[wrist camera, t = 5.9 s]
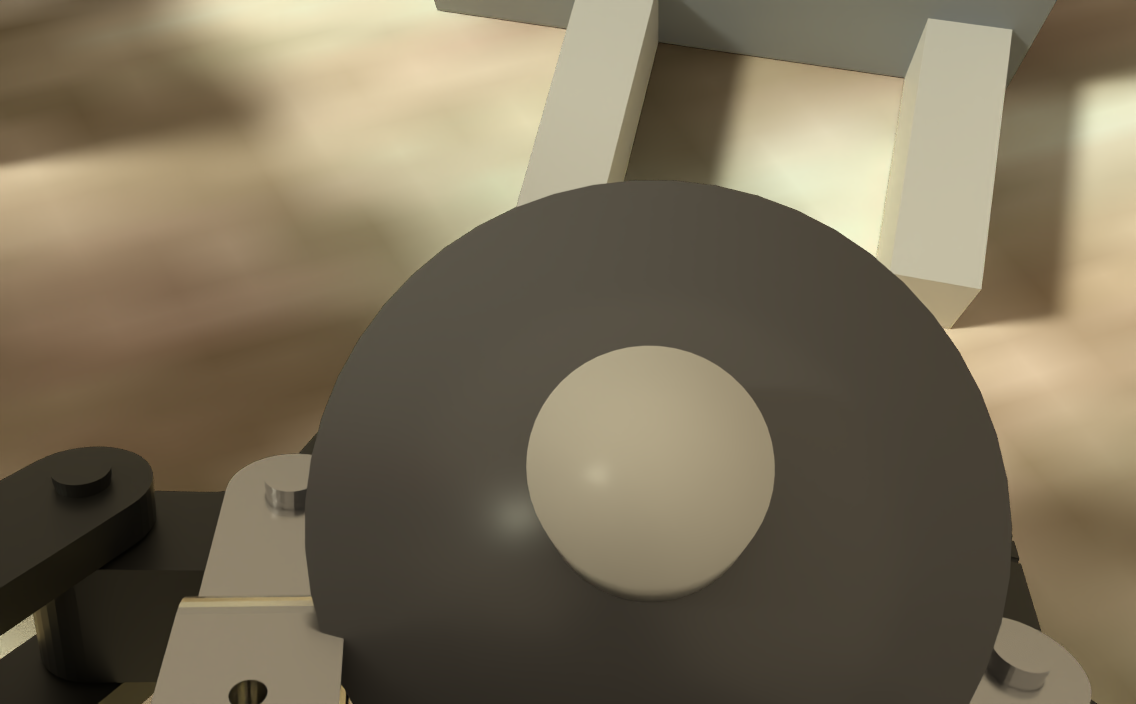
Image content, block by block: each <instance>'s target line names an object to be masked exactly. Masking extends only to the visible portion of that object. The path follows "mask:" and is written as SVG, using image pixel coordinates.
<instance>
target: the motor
mask: <svg viewBox="0 0 1136 704" xmlns="http://www.w3.org/2000/svg"><path fill="white" fill-rule="evenodd" d="M434 1H435V4H436V7H437V10H441V11H448V12H455V13H462V14H469V15H476V16H482V17H489V18H496V19H503V20H510V21H517V22H524V23H531V24H537V25H544V26H551V27H558V28H565V29H567V30H566V34H565V37H564V41H563V44H562V48H561V51H560V55H559V58H558V62H557V65H556V69H555V72H554V76H553V79H552V83H551V86H550V90H549V93H548V97H547V100H546V104H545V107H544V111H543V115H542V118H541V122H540V125H539V129H538V132H537V136H536V139H535V143H534V146H533V150H532V153H531V157H530V160H529V164H528V167H527V171H526V174H525V178H524V181H523V185H522V188H521V192H520V195H519V199H518V203H517V206H516V207H518V206H521V205H524V204H527V203H530V202H532V201H535V200H538V199H541V198H544V197H546V196H549V195H552V194H556V193H560V192H564V191H569V190H573V189H577V188H582V187H586V186H590V185H596V184H605V183H614V182H623V181H624V179H625V175H626V171H627V167H628V163H629V159H630V155H631V151H632V147H633V143H634V138H635V134H636V130H637V126H638V122H639V118H640V114H641V110H642V106H643V102H644V98H645V94H646V90H647V86H648V82H649V78H650V74H651V70H652V66H653V62H654V58H655V54H656V50H657V46H658V42H661V43H668V44H675V45H682V46H689V47H696V48H702V49H709V50H716V51H723V52H730V53H737V54H744V55H751V56H757V57H764V58H771V59H778V60H785V61H792V62H799V63H806V64H813V65H819V66H826V67H833V68H840V69H847V70H854V71H861V72H868V73H874V74H881V75H888V76H895V77H902V78H905V79H904V85H903V92H902V98H901V105H900V111H899V117H898V124H897V130H896V137H895V143H894V149H893V156H892V162H891V169H890V175H889V181H888V188H887V194H886V201H885V207H884V213H883V220H882V226H881V233H880V239H879V245H878V252H877V258H876V259H877V260H878V261H880V262H881V263H882V264H883V265H884V266H885V267H887V268H888V269H889V270H890V271H891V272H892V273H893V274H895V275H896V276H897V277H898V278H899V279H900V280H902V281H903V282H904V283H905V284H906V285H907V286H908V288H909V289H910V290H911V291H912V292H913V293H914V294H915V295H916V296H917V298H918V299H919V300H920V301H921V302H922V303H923V304H924V305H925V306H926V307H927V309H928V310H929V311H930V312H931V313H932V314H933V315H934V317H935V318H936V319H937V321H938V322H939V324H940V325H941V327H945V328H951V327H952V326H953V325H954V323H955V322H956V321H957V319H958V318H959V317H960V316H961V314H962V313H963V312H964V311H965V309H966V308H967V307H968V306H969V304H970V303H971V302H972V301H973V299H974V298H975V297H976V296H977V294H978V293H979V292H980V290H981V289H982V280H983V272H984V263H985V255H986V247H987V238H988V230H989V221H990V213H991V205H992V196H993V188H994V180H995V171H996V163H997V154H998V146H999V138H1000V129H1001V121H1002V112H1003V104H1004V96H1005V90H1006V88H1007V87H1008V85H1009V83H1010V81H1011V80H1012V78H1013V76H1014V74H1015V73H1016V71H1017V69H1018V67H1019V66H1020V64H1021V62H1022V60H1023V59H1024V57H1025V55H1026V53H1027V52H1028V50H1029V48H1030V46H1031V45H1032V43H1033V41H1034V39H1035V38H1036V36H1037V34H1038V32H1039V31H1040V29H1041V27H1042V25H1043V24H1044V22H1045V20H1046V18H1047V17H1048V15H1049V13H1050V11H1051V10H1052V8H1053V6H1054V4H1055V3H1056V1H1057V0H434Z"/></svg>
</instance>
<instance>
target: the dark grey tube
mask: <svg viewBox="0 0 1136 704" xmlns="http://www.w3.org/2000/svg"><path fill="white" fill-rule="evenodd" d="M1011 539H1012V522H1011V512H1010V502H1009V492H1008V481H1007V476H1006V472H1005V468H1004V464H1003V459H1002V455H1001V451H1000V447H999V442H998V438H997V434H996V432H995V429H994V426H993V424H992V421H991V418H990V416H989V413H988V410H987V408H986V405H985V402H984V400H983V397H982V394H981V392H980V390H979V388H978V386H977V384H976V382H975V380H974V379H973V377H972V375H971V373H970V371H969V369H968V367H967V365H966V363H965V362H964V360H963V358H962V356H961V354H960V352H959V351H958V349H957V348H956V346H955V345H954V344H953V342H952V341H951V339H950V338H949V336H948V335H947V334H946V332H945V331H944V329H943V328H942V327H941V325H940V324H939V322H938V321H937V319H936V318H935V317H934V315H933V314H932V313H931V312H930V311H929V310H928V309H927V307H926V306H925V305H924V304H923V303H922V302H921V301H920V300H919V299H918V298H917V296H916V295H915V294H914V293H913V292H912V291H911V290H910V289H909V288H908V286H907V285H906V284H905V283H904V282H903V281H902V280H900V279H899V278H898V277H897V276H896V275H895V274H893V273H892V272H891V271H890V270H889V269H888V268H887V267H885V266H884V265H883V264H882V263H881V262H880V261H878V260H877V259H876V258H875V257H874V256H873V255H871V254H870V253H869V252H867V251H866V250H864V249H863V248H861V247H860V246H858V245H857V244H855V243H854V242H852V241H851V240H849V239H848V238H846V237H845V236H843V235H842V234H841V233H839V232H838V231H836V230H834V229H832V228H831V227H829V226H827V225H825V224H823V223H821V222H819V221H817V220H815V219H813V218H811V217H809V216H807V215H805V214H803V213H801V212H799V211H797V210H795V209H792V208H789V207H787V206H784V205H781V204H779V203H776V202H773V201H771V200H768V199H765V198H763V197H760V196H757V195H753V194H749V193H745V192H741V191H737V190H733V189H728V188H724V187H720V186H715V185H707V184H699V183H691V182H683V181H664V180H632V181H623V182H614V183H605V184H596V185H590V186H586V187H582V188H577V189H573V190H569V191H564V192H560V193H556V194H552V195H549V196H546V197H544V198H541V199H538V200H535V201H532V202H530V203H527V204H524V205H521V206H518V207H516V208H513V209H511V210H509V211H507V212H505V213H503V214H501V215H499V216H497V217H495V218H493V219H491V220H489V221H487V222H485V223H483V224H481V225H479V226H477V227H476V228H474V229H473V230H471V231H470V232H468V233H467V234H465V235H464V236H462V237H461V238H459V239H457V240H456V241H454V242H453V243H451V244H450V245H448V246H447V247H445V248H444V249H443V250H441V251H440V252H439V253H438V254H437V255H435V256H434V257H433V258H432V259H431V260H429V261H428V262H427V263H426V264H425V265H423V266H422V267H421V268H420V269H419V270H418V271H416V272H415V273H414V274H413V275H412V276H411V277H410V278H409V279H408V280H407V281H406V282H405V283H404V284H403V285H402V286H401V287H400V289H399V290H398V291H397V292H396V293H395V294H394V295H393V296H392V297H391V298H390V299H389V300H388V301H387V302H386V303H385V305H384V306H383V307H382V308H381V310H380V311H379V313H378V314H377V315H376V317H375V318H374V319H373V321H372V322H371V323H370V325H369V326H368V328H367V329H366V330H365V332H364V333H363V334H362V336H361V337H360V338H359V340H358V342H357V344H356V345H355V347H354V349H353V351H352V353H351V354H350V356H349V358H348V360H347V362H346V363H345V365H344V367H343V369H342V371H341V372H340V374H339V376H338V378H337V381H336V383H335V386H334V388H333V391H332V393H331V396H330V398H329V400H328V403H327V405H326V408H325V410H324V413H323V415H322V419H321V422H320V426H319V430H318V434H317V437H316V441H315V445H314V449H313V453H312V456H311V462H310V469H309V477H308V484H307V492H306V499H305V553H306V561H307V569H308V577H309V584H310V592H311V597H312V600H313V604H314V608H315V612H316V616H317V620H318V623H319V627H320V631H321V633H324V634H328V635H332V636H336V637H339V638H343V639H344V643H343V666H342V686H343V688H344V689H345V691H346V693H347V695H348V696H349V698H350V700H351V702H352V703H353V704H969V703H970V701H971V699H972V697H973V695H974V693H975V691H976V689H977V687H978V685H979V683H980V681H981V679H982V677H983V675H984V673H985V671H986V669H987V666H988V663H989V660H990V657H991V654H992V651H993V648H994V645H995V641H996V638H997V635H998V632H999V629H1000V626H1001V623H1002V618H1003V612H1004V607H1005V601H1006V595H1007V590H1008V584H1009V579H1010V565H1011Z"/></svg>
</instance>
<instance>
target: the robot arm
mask: <svg viewBox="0 0 1136 704" xmlns="http://www.w3.org/2000/svg"><path fill="white" fill-rule="evenodd" d="M317 434H318V432H317ZM317 434H316V435H315V436H314V437H313V438H312V439H311V440H310V441H309V443H308V444H307V445H306V446H305V447H304V448H303V449H302V450H301V452H300V453H299V454H284V455H276V456H272V457H267V458H264V459H261V460H258V461H255V462H253V463H251V464H249V465H247V466H246V467H244V468H242V469H241V470H239V471H238V472H237V473H236V474H235V475H234V476H233V477H232V479H231V480H230V481H229V483H228V486H227V488H226V491H222V492H180V491H154V481H153V472H152V469H151V466H150V465H149V464H148V462H147V461H146V460H144V459H143V458H142V457H141V456H139V455H137V454H135V453H133V452H130V451H127V450H123V449H118V448H112V447H84V448H76V449H70V450H66V451H62V452H58V453H55V454H53V455H50V456H47V457H45V458H42V459H40V460H38V461H36V462H34V463H32V464H30V465H29V466H27V467H25V468H23V469H21V470H19V471H17V472H16V473H14V474H12V475H10V476H8V477H6V478H4V479H2V480H1V481H0V636H1V635H2V634H4V633H5V632H7V631H8V630H10V629H11V628H13V627H14V626H15V625H17V624H18V623H20V622H21V621H23V620H24V619H26V618H27V617H29V616H30V615H32V614H33V616H34V622H35V627H36V633H37V634H36V635H34V636H33V637H32V638H30V639H29V640H27V641H26V642H25V643H23V644H22V645H20V646H19V647H17V648H16V649H15V650H13V651H12V652H10V653H9V654H7V655H6V656H5V657H3V658H2V659H0V704H142V703H143V702H144V701H145V700H147V699H148V698H149V697H150V696H151V695H152V694H153V693H154V694H153V698H152V701H151V704H350V698H349V696H348V695H347V693H346V691H345V689H344V688H343V686H342V666H343V643H344V639H343V638H339V637H336V636H332V635H328V634H324V633H321V631H320V627H319V623H318V620H317V616H316V612H315V608H314V604H313V600H312V597H311V592H310V584H309V577H308V569H307V561H306V553H305V499H306V492H307V484H308V477H309V469H310V462H311V456H312V453H313V449H314V445H315V441H316V437H317ZM1018 561H1019V556H1018V553H1017V549H1016V546H1015V543H1014V541H1012V539H1011V565H1010V579H1009V584H1008V590H1007V595H1006V601H1005V607H1004V612H1003V618H1002V623H1001V626H1000V629H999V632H998V635H997V638H996V641H995V645H994V648H993V651H992V654H991V657H990V660H989V663H988V666H987V669H986V671H985V673H984V675H983V677H982V679H981V681H980V683H979V685H978V687H977V689H976V691H975V693H974V695H973V697H972V699H971V701H970V703H969V704H1097V703H1095V702H1094V701H1093V700H1091V693H1092V691H1091V685H1090V682H1089V679H1088V677H1087V675H1086V673H1085V671H1084V670H1083V668H1082V667H1081V665H1080V664H1079V663H1078V661H1077V660H1076V659H1075V658H1074V657H1073V656H1072V655H1071V654H1070V653H1069V652H1068V651H1067V650H1066V649H1065V648H1064V647H1062V646H1061V645H1060V644H1059V643H1057V642H1056V641H1055V640H1053V639H1052V638H1050V637H1048V636H1047V635H1045V634H1044V633H1042V632H1041V629H1040V626H1039V622H1038V619H1037V616H1036V612H1035V609H1034V606H1033V602H1032V599H1031V596H1030V592H1029V589H1028V586H1027V583H1026V579H1025V576H1024V573H1023V569H1022V566H1021V564H1019V563H1018Z"/></svg>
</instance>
